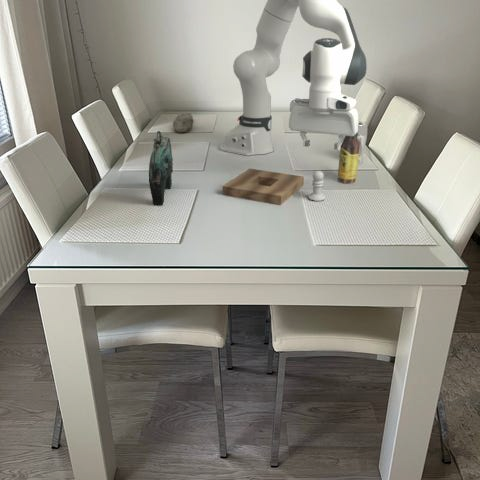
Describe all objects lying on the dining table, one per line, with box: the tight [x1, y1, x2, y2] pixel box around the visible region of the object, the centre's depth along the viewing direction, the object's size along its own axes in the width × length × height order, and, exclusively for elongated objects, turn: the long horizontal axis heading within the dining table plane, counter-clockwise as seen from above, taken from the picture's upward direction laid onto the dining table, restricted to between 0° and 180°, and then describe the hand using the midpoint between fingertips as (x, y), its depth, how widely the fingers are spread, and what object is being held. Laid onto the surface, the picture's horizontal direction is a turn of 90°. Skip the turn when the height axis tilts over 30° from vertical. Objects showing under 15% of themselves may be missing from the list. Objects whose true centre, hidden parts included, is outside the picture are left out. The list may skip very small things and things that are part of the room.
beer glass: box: [357, 120, 369, 166], centre depth 184 cm, size 7×7×15 cm
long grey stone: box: [172, 112, 194, 133], centre depth 245 cm, size 35×5×10 cm
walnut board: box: [221, 168, 305, 206], centre depth 161 cm, size 20×20×3 cm
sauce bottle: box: [337, 123, 360, 184], centre depth 164 cm, size 7×6×20 cm
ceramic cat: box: [148, 130, 174, 206], centre depth 153 cm, size 20×6×20 cm, turn 178°
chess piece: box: [308, 170, 326, 202], centre depth 152 cm, size 5×5×9 cm
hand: (321, 147), depth 147 cm, fingers open, 8 cm apart
